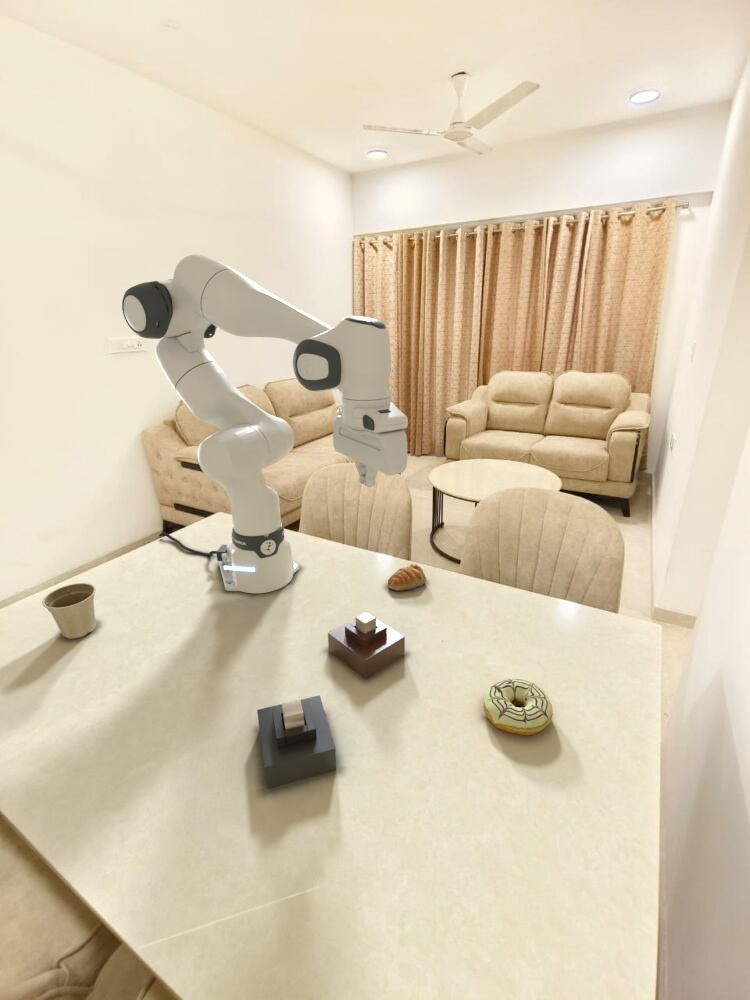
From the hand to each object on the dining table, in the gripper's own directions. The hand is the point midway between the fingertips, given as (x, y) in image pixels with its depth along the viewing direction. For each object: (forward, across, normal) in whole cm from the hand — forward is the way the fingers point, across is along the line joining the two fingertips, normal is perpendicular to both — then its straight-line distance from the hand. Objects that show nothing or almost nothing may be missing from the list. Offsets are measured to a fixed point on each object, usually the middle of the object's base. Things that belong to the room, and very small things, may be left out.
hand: (367, 484), depth 95 cm
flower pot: (+31, -32, -52) cm, 69 cm away
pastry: (+31, -8, +16) cm, 36 cm away
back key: (+26, +8, -6) cm, 27 cm away
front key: (+26, +21, -27) cm, 43 cm away
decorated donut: (+31, +35, +6) cm, 47 cm away
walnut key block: (+31, +8, -6) cm, 33 cm away
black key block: (+31, +21, -27) cm, 46 cm away
